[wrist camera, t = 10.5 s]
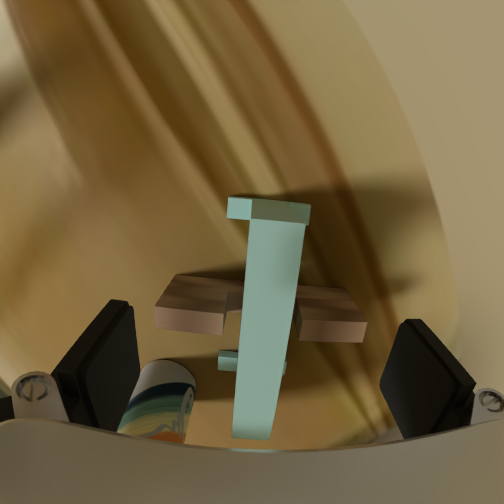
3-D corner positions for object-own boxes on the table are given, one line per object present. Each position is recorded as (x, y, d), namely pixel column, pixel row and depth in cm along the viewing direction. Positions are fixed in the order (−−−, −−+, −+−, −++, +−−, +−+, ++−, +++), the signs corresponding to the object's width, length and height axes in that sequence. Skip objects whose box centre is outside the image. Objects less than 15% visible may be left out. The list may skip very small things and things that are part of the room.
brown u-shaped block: (175, 292, 26) (155, 327, 20) (175, 274, 25) (154, 306, 19) (341, 305, 26) (362, 342, 20) (345, 288, 25) (367, 322, 20)
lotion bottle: (207, 394, 29) (174, 583, 9) (160, 405, 29) (107, 571, 10) (179, 351, 27) (110, 554, 8) (131, 365, 28) (46, 536, 9)
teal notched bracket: (229, 195, 23) (214, 215, 15) (308, 203, 24) (339, 227, 15) (218, 363, 28) (207, 435, 19) (283, 368, 28) (293, 440, 19)
